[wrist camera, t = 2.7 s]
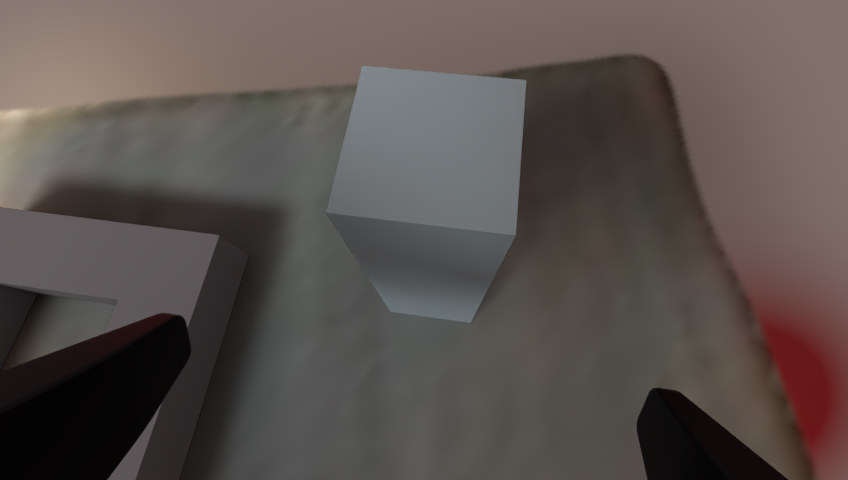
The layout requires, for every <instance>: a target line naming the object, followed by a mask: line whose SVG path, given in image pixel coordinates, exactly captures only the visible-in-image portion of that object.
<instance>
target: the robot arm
mask: <svg viewBox="0 0 848 480" xmlns="http://www.w3.org/2000/svg"><path fill="white" fill-rule="evenodd" d="M191 349H192V347H191V342H190V338H189V333H188V328H187V324H186V320H185V319H184V318H183V316H181V315H176V314H170V313H159V314H156V315H153V316H150V317H148V318H145V319H142V320H139V321H137V322H134V323H131V324H129V325H126V326H123V327H121V328H118V329H115V330H112V331H110V332H107V333H104V334H102V335H99V336H96V337H93V338H91V339H88V340H85V341H83V342H80V343H77V344H74V345H72V346H69V347H66V348H64V349H61V350H58V351H55V352H53V353H50V354H47V355H45V356H42V357H39V358H36V359H34V360H31V361H28V362H26V363H23V364H20V365H18V366H15V367H12V368H9V369H7V370H4V371H1V372H0V480H108V478H109V477H110V476H111V474H112V473H113V472H114V470H115V469H116V468H117V466H118V465H119V464H120V462H121V461H122V460H123V458H124V457H125V456H126V455H127V453H128V452H129V451H130V449H131V448H132V447H133V445H134V444H135V443H136V441H137V440H138V438H139V437H140V436H141V434H142V433H143V431H144V430H145V429H146V427H147V425H148V424H149V422H150V421H151V419H152V418H153V416H154V415H155V413H156V412H157V410H158V408H159V407H160V405H161V404H162V402H163V400H164V399H165V397H166V396H167V394H168V392H169V391H170V389H171V387H172V386H173V384H174V383H175V381H176V379H177V378H178V376H179V375H180V373H181V371H182V370H183V368H184V367H185V365H186V363H187V362H188V360H189V358H190V355H191ZM637 434H638V439H639V443H640V448H641V452H642V457H643V461H644V466H645V470H646V475H647V479H648V480H788V479H787V478H785V477H784V476H783V475H782V474H781V473H779V472H778V471H777V470H776V469H774V468H773V467H772V466H771V465H769V464H768V463H767V462H766V461H764V460H763V459H762V458H761V457H760V456H758V455H757V454H756V453H755V452H753V451H752V450H751V449H750V448H748V447H747V446H746V445H745V444H743V443H742V442H741V441H740V440H739V439H737V438H736V437H735V436H734V435H732V434H731V433H730V432H729V431H727V430H726V429H725V428H724V427H722V426H721V425H720V424H719V423H718V422H716V421H715V420H714V419H713V418H711V417H710V416H709V415H708V414H706V413H705V412H704V411H703V410H701V409H700V408H699V407H698V406H697V405H695V404H694V403H693V402H692V401H690V400H689V399H688V398H687V397H685V396H684V395H683V394H682V393H680V392H678V391H675V390H670V389H663V388H653V389H652V390H651V391H650V392H649V394H648V396H647V399H646V401H645V403H644V405H643V408H642V410H641V412H640V415H639V417H638V420H637Z"/></svg>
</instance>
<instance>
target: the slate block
mask: <svg viewBox="0 0 848 480" xmlns="http://www.w3.org/2000/svg"><path fill="white" fill-rule="evenodd" d="M525 92H526V80H519V79H508V78H496V77H485V76H473V75H462V74H451V73H439V72H428V71H427V72H426V71H416V70H405V69H393V68H382V67H371V66H362V70H361V74H360V78H359V82H358V86H357V90H356V94H355V98H354V102H353V106H352V110H351V114H350V118H349V122H348V126H347V130H346V134H345V138H344V142H343V146H342V150H341V154H340V158H339V162H338V166H337V170H336V174H335V178H334V182H333V186H332V190H331V194H330V198H329V202H328V207H327V211H326V214H327V215H328V217H329V218H330V220H331V221H332V223H333V224H334V226H335V227H336V229H337V230H338V232H339V234H340V235H341V237H342V238H343V240H344V241H345V243H346V244H347V246H348V247H349V249H350V250H351V252H352V254H353V255H354V257H355V258H356V260H357V261H358V263H359V264H360V266H361V267H362V269H363V271H364V272H365V274H366V275H367V277H368V278H369V280H370V281H371V283H372V284H373V286H374V287H375V289H376V291H377V292H378V294H379V295H380V297H381V298H382V300H383V301H384V303H385V304H386V306H387V307H388V309H389V311H390V312H395V313H402V314H409V315H416V316H424V317H431V318H438V319H445V320H453V321H460V322H467V323H471V321H472V319H473V317H474V315H475V313H476V311H477V310H478V308H479V306H480V304H481V302H482V300H483V298H484V296H485V294H486V292H487V290H488V288H489V286H490V284H491V282H492V281H493V279H494V277H495V275H496V273H497V271H498V269H499V267H500V265H501V263H502V261H503V259H504V257H505V255H506V253H507V252H508V250H509V248H510V246H511V244H512V242H513V240H514V238H515V236H516V226H517V211H518V196H519V181H520V167H521V152H522V137H523V122H524V107H525Z"/></svg>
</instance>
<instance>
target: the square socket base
mask: <svg viewBox="0 0 848 480" xmlns="http://www.w3.org/2000/svg"><path fill="white" fill-rule="evenodd" d="M248 257H249V255H248V254H246V253H245V252H243V251H242V250H241V249H239V248H238V247H236V246H235V245H233V244H232V243H230V242H229V241H227V240H226V239H225V238H223V237H222V236H220V235H215V234H207V233H199V232H192V231H184V230H176V229H168V228H160V227H152V226H144V225H136V224H128V223H121V222H113V221H105V220H97V219H89V218H81V217H73V216H65V215H58V214H50V213H42V212H34V211H26V210H18V209H10V208H2V207H0V370H1V368H2V366H3V364H4V362H5V360H6V358H7V355H8V353H9V351H10V349H11V347H12V345H13V343H14V341H15V339H16V337H17V335H18V333H19V331H20V329H21V327H22V325H23V323H24V321H25V318H26V316H27V314H28V312H29V310H30V308H31V306H32V304H33V302H34V300H35V298H36V296H37V294H44V295H51V296H58V297H65V298H72V299H79V300H85V301H92V302H99V303H106V304H113V305H116V306H115V308H114V311H113V313H112V315H111V318H110V320H109V323H108V325H107V327H106V330H105V332H104V333H107V332H110V331H112V330H115V329H118V328H121V327H123V326H126V325H129V324H131V323H134V322H137V321H139V320H142V319H145V318H148V317H150V316H153V315H156V314H159V313H170V314H176V315H181V316H183V318H184V319H185V320H186V324H187V328H188V333H189V338H190V342H191V347H192V349H191V355H190V358H189V360H188V362H187V363H186V365H185V367H184V368H183V370H182V371H181V373H180V375H179V376H178V378H177V379H176V381H175V383H174V384H173V386H172V387H171V389H170V391H169V392H168V394H167V396H166V397H165V399H164V400H163V402H162V404H161V405H160V407H159V408H158V410H157V412H156V413H155V415H154V416H153V418H152V419H151V421H150V422H149V424H148V425H147V427H146V429H145V430H144V431H143V433H142V434H141V436H140V437H139V438H138V440H137V441H136V443H135V444H134V445H133V447H132V448H131V449H130V451H129V452H128V453H127V455H126V456H125V457H124V458H123V460H122V461H121V462H120V464H119V465H118V466H117V468H116V469H115V470H114V472H113V473H112V474H111V476H110V477H109V478H108V480H179V479H180V476H181V473H182V470H183V466H184V463H185V460H186V457H187V454H188V450H189V447H190V444H191V441H192V437H193V434H194V431H195V428H196V424H197V421H198V418H199V415H200V412H201V408H202V405H203V402H204V399H205V395H206V392H207V389H208V386H209V383H210V379H211V376H212V373H213V370H214V366H215V363H216V360H217V357H218V354H219V350H220V347H221V344H222V341H223V337H224V334H225V331H226V328H227V325H228V321H229V318H230V315H231V312H232V308H233V305H234V302H235V299H236V296H237V292H238V289H239V286H240V283H241V279H242V276H243V273H244V270H245V267H246V263H247V260H248Z"/></svg>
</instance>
